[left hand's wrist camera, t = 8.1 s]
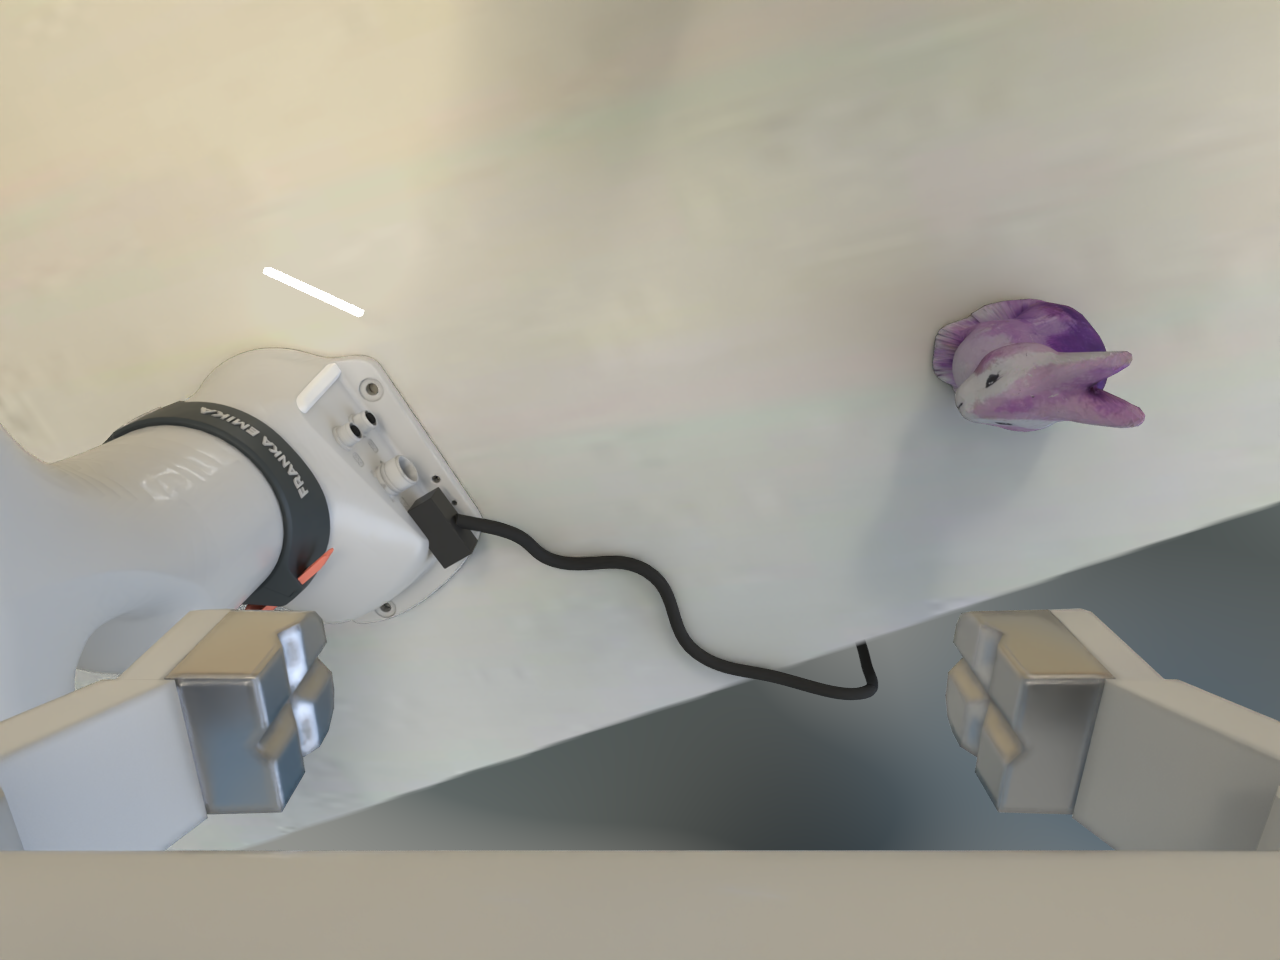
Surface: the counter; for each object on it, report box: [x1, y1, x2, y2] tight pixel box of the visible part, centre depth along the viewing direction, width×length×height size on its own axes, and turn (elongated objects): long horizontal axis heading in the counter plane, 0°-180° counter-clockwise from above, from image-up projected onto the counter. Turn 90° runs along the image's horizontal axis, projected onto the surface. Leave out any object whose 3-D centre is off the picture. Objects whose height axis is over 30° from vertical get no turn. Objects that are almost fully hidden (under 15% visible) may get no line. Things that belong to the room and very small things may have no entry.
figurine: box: [933, 299, 1145, 432], centre depth 49 cm, size 9×10×15 cm
